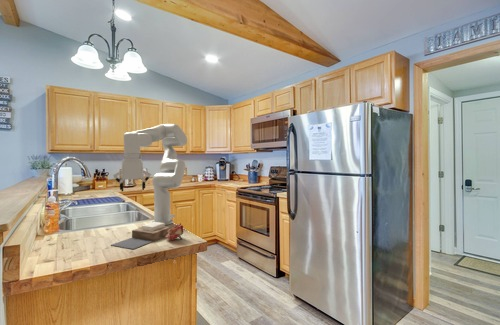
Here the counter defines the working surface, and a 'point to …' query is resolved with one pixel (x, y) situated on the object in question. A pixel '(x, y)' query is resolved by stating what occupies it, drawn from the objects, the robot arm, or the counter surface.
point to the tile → (153, 226)
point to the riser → (150, 234)
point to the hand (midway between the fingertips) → (132, 190)
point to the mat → (132, 243)
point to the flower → (175, 232)
